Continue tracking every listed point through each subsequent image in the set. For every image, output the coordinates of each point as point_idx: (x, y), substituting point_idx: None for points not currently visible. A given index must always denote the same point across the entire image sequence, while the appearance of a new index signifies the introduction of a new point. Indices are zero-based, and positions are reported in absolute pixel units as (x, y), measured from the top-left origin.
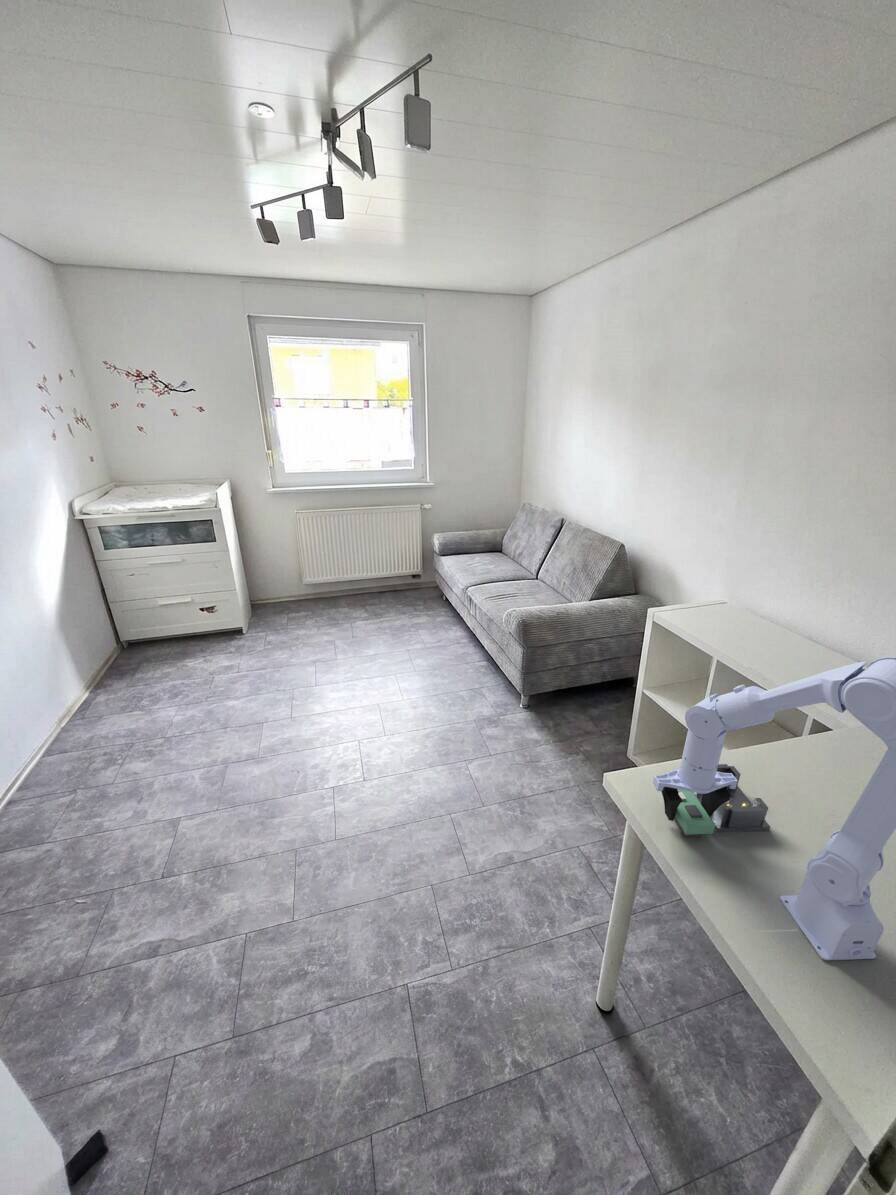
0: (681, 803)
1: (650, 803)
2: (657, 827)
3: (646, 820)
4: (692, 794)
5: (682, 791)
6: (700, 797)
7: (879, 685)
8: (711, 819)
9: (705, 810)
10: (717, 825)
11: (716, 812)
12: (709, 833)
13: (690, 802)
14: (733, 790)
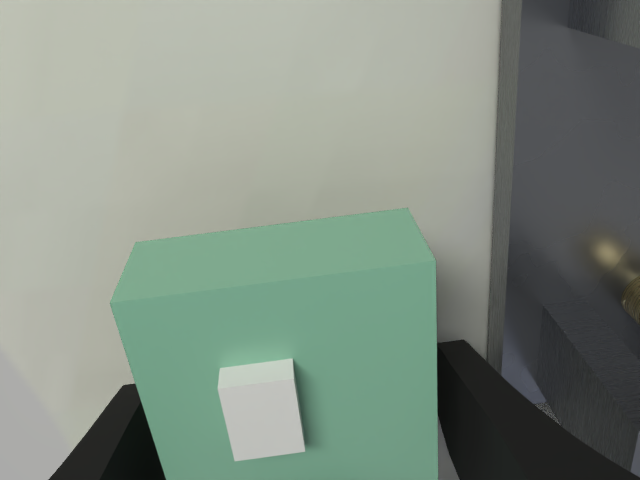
0: (243, 465)
1: (64, 160)
2: (87, 378)
3: (10, 332)
4: (413, 352)
5: (317, 319)
6: (548, 122)
7: None
8: (501, 337)
9: (459, 437)
10: None
11: (564, 358)
12: None
13: (341, 445)
14: None
